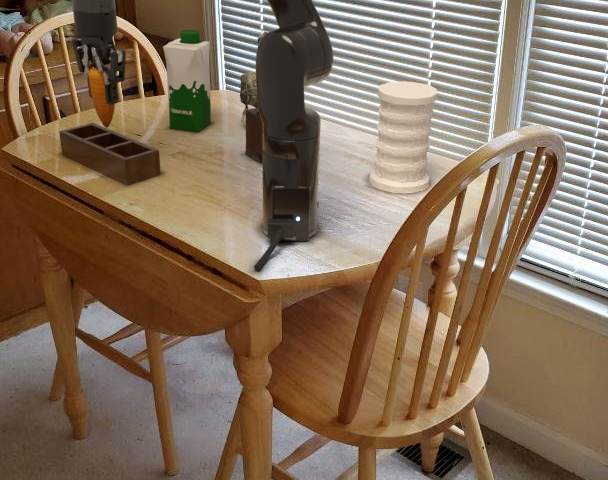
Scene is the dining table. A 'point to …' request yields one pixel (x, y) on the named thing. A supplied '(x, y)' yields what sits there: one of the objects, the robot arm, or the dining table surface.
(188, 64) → the milk carton
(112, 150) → the rack
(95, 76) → the carrot
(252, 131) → the manual coffee grinder
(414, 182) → the decorative container
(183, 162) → the dining table surface
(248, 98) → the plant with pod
